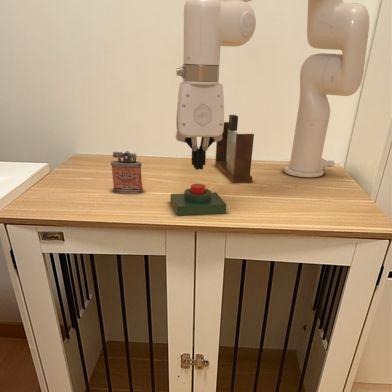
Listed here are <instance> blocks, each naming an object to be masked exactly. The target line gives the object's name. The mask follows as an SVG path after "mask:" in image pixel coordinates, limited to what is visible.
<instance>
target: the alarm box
mask: <svg viewBox="0 0 392 392" xmlns="http://www.w3.org/2000/svg"><path fill="white" fill-rule="evenodd" d="M170 204H171V206H172V208H173V210H174V212H175V213H176V216H178V217H181V216H197V215H218V214H220V215H223V214H227V203H226V202H225V201H224V200H223V198H222V197H221V196H220V195H219V194H218V193H217V192H215V191H214V192H213V191H211V189H209V188H205V193H204V194H193V193H191V187H190V188H186V189H185V190H184V192H183V193H170Z"/></svg>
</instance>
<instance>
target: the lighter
mask: <svg viewBox="0 0 392 392" xmlns="http://www.w3.org/2000/svg"><path fill="white" fill-rule="evenodd" d="M112 158H113V159H117V160H111V161H110V166H111V173H112V184H113V187H112V190H113V193H118V194H143V193H144V190H143V183H142V181H143V179H142V161H137V153H135V152H133V153H132V152H130V151H129V150H126V151H125V152H122V151H113V152H112Z"/></svg>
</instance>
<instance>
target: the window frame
mask: <svg viewBox="0 0 392 392" xmlns="http://www.w3.org/2000/svg"><path fill="white" fill-rule="evenodd" d="M228 128H229V121H224V130H223V133H222V137H223V138H222V140H221V141H217V142H215V159H214V160H215V163H214V165H215V167H216V168H217V169H218V170H219V171H221V173H223V174H224V176H226V178H228V179H229V180H230V181H231V182H232V183H233V184H243V183H244V184H245V183H247V184H248V183H252V182H253V176H252V175H251V170H252V169H251V168H252V161H253V158H252V157H253V148H254V141H255V140H254V138H255V134H254V133H237V134H236V142H235V144H234V143H233V142H232V141H228V155H227V161H226V152H227V137H228Z"/></svg>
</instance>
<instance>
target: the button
mask: <svg viewBox="0 0 392 392" xmlns="http://www.w3.org/2000/svg"><path fill="white" fill-rule="evenodd" d="M190 188H191V193H193V194H204V193H205V189H206V185H205V184H203V183H193V184H190Z"/></svg>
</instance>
